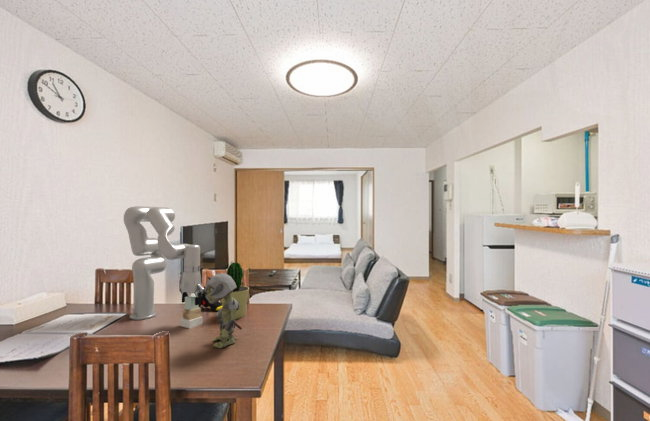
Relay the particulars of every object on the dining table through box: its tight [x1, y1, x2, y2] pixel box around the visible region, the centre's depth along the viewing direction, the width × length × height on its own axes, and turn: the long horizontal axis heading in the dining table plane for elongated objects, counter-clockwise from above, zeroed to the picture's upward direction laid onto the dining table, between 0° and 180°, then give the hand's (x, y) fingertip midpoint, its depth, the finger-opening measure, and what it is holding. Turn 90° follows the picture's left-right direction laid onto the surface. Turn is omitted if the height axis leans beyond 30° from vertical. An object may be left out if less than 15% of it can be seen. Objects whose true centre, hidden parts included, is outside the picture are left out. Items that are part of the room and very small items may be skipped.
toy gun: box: [197, 285, 222, 312], centre depth 180 cm, size 5×18×12 cm
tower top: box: [182, 307, 202, 320], centre depth 154 cm, size 6×6×4 cm
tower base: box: [179, 315, 204, 329], centre depth 154 cm, size 8×8×4 cm
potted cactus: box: [220, 261, 250, 320], centre depth 168 cm, size 15×15×30 cm
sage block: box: [184, 294, 200, 310], centre depth 154 cm, size 5×5×6 cm
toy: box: [204, 273, 243, 349], centre depth 133 cm, size 15×16×30 cm
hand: (191, 303), depth 154 cm, fingers open, 9 cm apart
